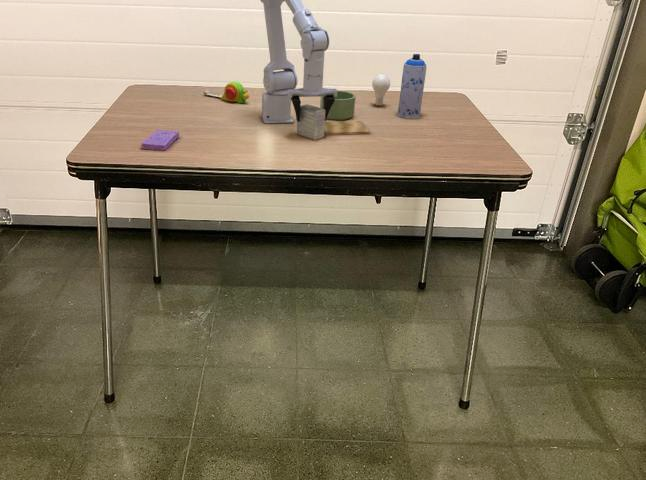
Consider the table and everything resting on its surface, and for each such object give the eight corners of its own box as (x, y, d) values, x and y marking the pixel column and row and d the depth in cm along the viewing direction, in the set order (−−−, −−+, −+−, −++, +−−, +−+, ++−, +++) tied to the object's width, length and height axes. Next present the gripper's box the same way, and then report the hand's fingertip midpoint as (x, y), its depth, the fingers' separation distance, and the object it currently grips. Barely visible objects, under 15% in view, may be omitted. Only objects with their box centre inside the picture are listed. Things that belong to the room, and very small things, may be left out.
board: (325, 135, 188) (325, 132, 187) (318, 124, 197) (318, 121, 197) (369, 133, 190) (369, 131, 189) (360, 123, 199) (360, 120, 199)
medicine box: (324, 137, 186) (326, 109, 181) (314, 140, 183) (316, 112, 179) (305, 131, 190) (307, 103, 186) (295, 134, 188) (297, 106, 183)
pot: (323, 121, 200) (325, 100, 196) (316, 111, 209) (317, 90, 206) (357, 120, 201) (359, 99, 198) (349, 110, 211) (350, 90, 207)
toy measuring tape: (243, 105, 212) (242, 86, 209) (199, 96, 221) (199, 77, 218) (253, 101, 217) (253, 82, 214) (210, 92, 226) (210, 74, 223)
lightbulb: (382, 109, 214) (385, 77, 208) (366, 106, 217) (369, 74, 211) (391, 105, 218) (394, 74, 212) (375, 102, 221) (378, 71, 215)
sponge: (179, 137, 182) (178, 131, 182) (165, 151, 172) (164, 144, 171) (157, 135, 183) (156, 129, 182) (141, 149, 173) (140, 142, 172)
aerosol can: (413, 111, 212) (421, 51, 202) (424, 117, 206) (433, 56, 196) (393, 112, 210) (400, 52, 200) (403, 119, 204) (411, 57, 194)
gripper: (291, 78, 173) (289, 125, 180) (340, 77, 175) (337, 123, 182) (287, 72, 179) (286, 118, 186) (335, 71, 181) (332, 117, 188)
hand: (311, 120), depth 184 cm, fingers open, 7 cm apart
